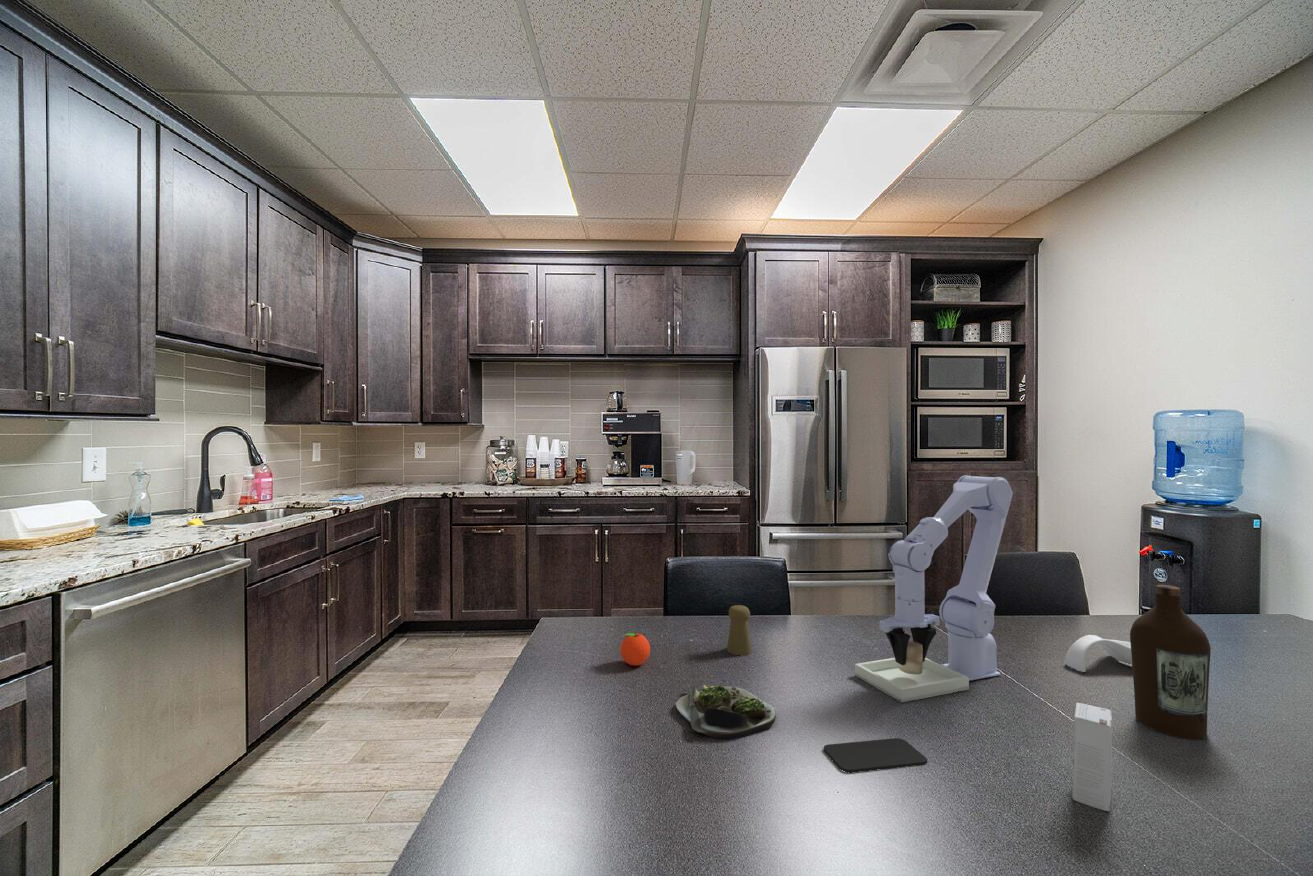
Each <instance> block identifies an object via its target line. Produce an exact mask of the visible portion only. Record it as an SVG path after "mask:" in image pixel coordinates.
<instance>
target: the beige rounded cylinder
mask: <svg viewBox="0 0 1313 876" xmlns="http://www.w3.org/2000/svg"><path fill="white" fill-rule="evenodd" d="M922 668H923V645H922V644H920V643H918V642H915V641H913V640H910V639H909V642H908V646H907V655H906V664H905V665H901V664H899V670H901V671H902V672H905V673H908V674H914V675H917V674H921V673H922Z"/></svg>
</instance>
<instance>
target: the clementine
mask: <svg viewBox="0 0 1313 876" xmlns="http://www.w3.org/2000/svg"><path fill="white" fill-rule="evenodd" d="M624 636H626V637H624ZM622 637H624V639H623V640H622V641H621V644H620V649H619V650H620V656H621V659H622V660H623V661H624V662H625V663H626V664H627V665H629V666H635V667H636V666H641V665H643V664H644V663H645V662H646V661H647V660H648V659H649V656H650V653H651V647H650V646H651V645H650V642H649V640H648V638H646V637H645V636H644V635H643V634H640V633H633V632H629V633H626V634H623V635H622V636H620V638H619V639H621V638H622Z"/></svg>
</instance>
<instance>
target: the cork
mask: <svg viewBox="0 0 1313 876" xmlns="http://www.w3.org/2000/svg"><path fill="white" fill-rule="evenodd" d="M728 617H729V619H730V624H729V630H728V631H729V633H728V639H727V640H728V641H727V648H726V652H727V651H728V652H729V653H731V654H730V655H732V654H733V655H732V656H736V655H746V656H749V654H750V655H751V654H752V653H753V651H752V645H751V636H750V635H751V634H750V630H749V622H748V620H750V617H751V611H750V610H749V608H748V607H747V606H746V605H742V604H737V605H736V604H735V605H732V606H730V608H729V609H728ZM728 652H727V653H728ZM751 652H752V653H751ZM729 653H728V654H729Z"/></svg>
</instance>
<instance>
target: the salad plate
mask: <svg viewBox="0 0 1313 876" xmlns="http://www.w3.org/2000/svg"><path fill="white" fill-rule="evenodd" d="M686 687H687V688H686V689H687V694H686V695H683V696H681V697H680V698H679V699H678V700H677V702H676V703H675V707H676V709H677V711H678V712H679V713H680V715H682V716H683V717H684V719H686V721H688V722H689V723H690V726H691V728H692V730H693V731H695V732H697V733H701V734H703V735H705V736H708V737H711V738H714V739H722V740H723V739H724V740H725V739H727V740H729V739H737V738H742V737H747V736H749V735H754V734H757V733H760V732H763V731H766V730H767V729H768V728H770V727H771V726H772V725H773V724H774V723H775V721H776V718H777V714H776V710H775V708H774V707H773V706H772V705H770V704H769V703H767V702H765V701H763V700H761V699H760V698H758V697H756V695H754V694H752V693H751V692H750V691H747V689H744V688H741V687H736V686H722V685H721V684H720V685H719V684H717V685H711V686H708V687H707V685H706V684H703V685H702V688H701V691H698V689H697V687H696V685H695V684H688V685H687V686H686ZM732 701H734V702H732Z"/></svg>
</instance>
